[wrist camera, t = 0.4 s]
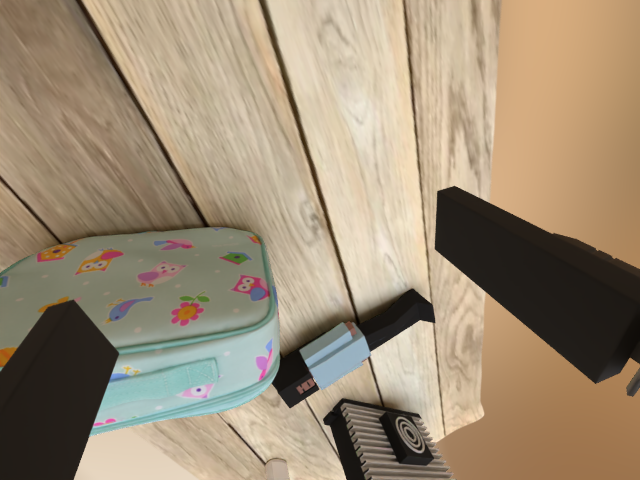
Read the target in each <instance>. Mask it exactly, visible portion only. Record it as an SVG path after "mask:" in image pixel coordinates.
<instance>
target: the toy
mask: <svg viewBox="0 0 640 480" xmlns="http://www.w3.org/2000/svg"><path fill="white" fill-rule="evenodd" d="M419 320H422V321H427V322H432V323H435V316H434V309H433V305H432V304H431V303H430V302H428V301H427V300H426V299H425V298H424V297H422V296H421V295H420V294H419V293H418V292H416V291H415V290H414V289H411V290H410V291H408V292H406V293H405V294H404V295H403V296H402V297H401V298H400V299H399V300H398V301H397V302H396V303H395V304H393V305H392V306H391V307H390V308H389V309H388V310H387V311H386V312H385V313H383V314H381V315H379V316H376V317H374V318H372V319H370V320H368V321H365V322H363V323H361V324H359V325H355V323H354V322H352V323H351V322H350V321H348V322H347V323H345V324H344V323H343V322H342V323H340V324H339V325H337V326H336V327H335V328H333V329H332V330H330V331H329V332H327V333H326V332H325V333H323V334H322V335H320V336H318V337H317V338H315V339H313V340H312V341H310V342H308V343H307V344H305V345H304V346H302V347H300V348H299V349H297V350H295V351H294V352H292V353H290V354H289V355H287V356H285V357H284V358H282V359H281V360H280V364H279V369H278V372H277V373H276V376H275V378H274V380H273V381H272V384H273V386H274V387H275V388H276V390H277V391H278V394H279V395H280V396H281V398H282V399H283V400H284V401H285V403H286V404H287V405H288V407H289V408H291V407H293V406H295V405H296V404H298V403H299V402H301V401H302V400H304V399H305V398H307V397H308V396H310V395H311V394H313V393H315V392H316V391H318V390H319V387H320V388H321V390H323V389H325V388H326V387H328V386H329V385H331V384H333V383H334V382H336V381H337V380H339V379H340V378H342V377H343V376H345V375H346V374H348V373H350V372H351V371H353V370H355V369H357V368H358V367H360V366H362V365H363V363H362V362H363V361H365V360H367V359H366V358H368V357H369V356H371V353H370V352H371V351H372V350H374V349H376V348H377V347H379V346H380V345H382V344H383V343H385V342H387V341H388V340H390V339H391V338H393V337H394V336H396V335H398V334H399V333H401V332H402V331H404V330H405V329H407V328H408V327H410V326H412V325H413V324H415V323H416V322H418V321H419ZM313 377H314V379H315V380H316V382H317V384H318V385H319V387H318V386H317V384H316V382H314V380H313Z"/></svg>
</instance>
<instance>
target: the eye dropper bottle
mask: <svg viewBox="0 0 640 480" xmlns="http://www.w3.org/2000/svg"><path fill="white" fill-rule="evenodd" d="M265 469H266V478H267V480H290V478H289V472H288V466H287V463H286V462H285V461H284V460H281V459H272V460H270V461H269V462H268V463H266V465H265Z"/></svg>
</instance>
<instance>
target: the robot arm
mask: <svg viewBox="0 0 640 480" xmlns="http://www.w3.org/2000/svg"><path fill="white" fill-rule="evenodd" d="M435 250H436V251H438V252H439V253H440V254H441V255H442V256H444V257H445V258H446V259H447V260H448V261H450V262H451V263H452V264H453V265H454V266H455V267H457V268H458V269H459V270H460V271H461V272H463V273H464V274H465V275H466V276H467V277H469V278H470V279H471V280H472V281H473V282H475V283H476V284H477V285H478V286H479V287H481V288H482V289H483V290H484V291H485V292H486V293H488V294H489V295H490V296H491V297H492V298H494V299H495V300H496V301H497V302H498V303H500V304H501V305H502V306H503V307H504V308H506V309H507V310H508V311H509V312H510V313H512V314H513V315H514V316H515V317H516V318H518V319H519V320H520V321H521V322H522V323H523V324H525V325H526V326H527V327H528V328H529V329H531V330H532V331H533V332H534V333H535V334H537V335H538V336H539V337H540V338H541V339H543V340H544V341H545V342H546V343H547V344H549V345H550V346H551V347H552V348H553V349H555V350H556V351H557V352H558V353H559V354H561V355H562V356H563V357H564V358H565V359H566V360H568V361H569V362H570V363H571V364H573V365H574V366H575V367H576V368H577V369H578V370H580V371H581V372H582V373H583V374H584V375H586V376H587V377H588V378H589V379H590V380H592V381H593V382H594V383H595V384H596V383H599V382H601V381H603V380H605V379H607V378H610V377H612V376H614V375H616V374H619V373H620V372H621V370H622V369H623V367H624V366H625V364H626V363H627V361H628V359H629V358H632V359H633V360H635V361H636V362H637V363H639V364H640V269H638V268H636V267H634V266H632V265H630V264H627V263H625V262H623V261H621V260H619V259H617V258H615V259H613V258H612V256H611V255H609V254H607V253H604V252H602V251H600V250H599V251H597V250H596V248H594V247H592V246H590V245H587V244H585V243H583V242H581V241H579V240H577V239H574V238H570V237H567V236H563V235H559V234H555V233H554V234H551V233H549V232H547V231H545V230H543V229H541V228H539V227H537V226H535V225H533V224H531V223H529V222H527V221H525V220H523V219H521V218H519V217H517V216H515V215H513V214H511V213H509V212H507V211H505V210H503V209H500V208H499V207H497V206H495V205H492V204H490V203H488V202H486V201H484V200H482V199H480V198H478V197H476V196H474V195H472V194H470V193H468V192H466V191H464V190H462V189H460V188H458V187H456V186H453V187H450V188H446V189H443V190H439V191H437V212H436V233H435ZM118 356H119V352H118V351H117V350H116V349H115V347H114V346H113V345H112V344H111V343H110V341H109V340H108V339H107V338H106V337H105V336H104V334H103V333H102V332H101V331H100V330H99V328H98V327H97V326H96V325H95V324H94V323H93V321H92V320H91V319H90V318H89V317H88V316H87V314H86V313H85V312H84V311H83V310H82V308H81V307H80V306H79V305H78V304H77V303H76V301H75V300H74V299H73V300H70V301H66V302H63V303H59V304H56V305H53V306H49V307H47V309H46V310H45V311H44V313H43V314H42V315H41V317H40V318H39V320H38V321H37V322H36V324H35V325H34V326H33V328H32V329H31V330H30V332H29V333H28V334H27V336H26V337H25V338H24V340H23V341H22V343H21V344H20V345H19V347H18V348H17V349H16V351H15V352H14V353H13V355H12V356H11V357H10V359H9V360H8V362H7V363H6V364H5V366H4V367H3V368H2V370H1V371H0V480H74V477H75V474H76V471H77V469H78V466H79V463H80V460H81V458H82V455H83V452H84V449H85V447H86V444H87V441H88V438H89V436H90V433H91V430H92V427H93V425H94V422H95V419H96V416H97V414H98V411H99V408H100V405H101V403H102V400H103V397H104V394H105V392H106V389H107V386H108V383H109V381H110V378H111V375H112V372H113V370H114V367H115V364H116V361H117V359H118ZM639 388H640V368H639V370H638V371H637V373H636V374H635V375H634V377H633V378H632V380H631V381H630V383H629V384H628V386H627V388H626V389H627V395H629V396H632V397H633V396H634V395H635V393H636V392H637V391H638V389H639Z"/></svg>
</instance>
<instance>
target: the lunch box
mask: <svg viewBox="0 0 640 480" xmlns="http://www.w3.org/2000/svg"><path fill="white" fill-rule="evenodd" d="M73 299H74V300H75V301H76V303H77V304H78V305H79V306H80V307H81V308H82V310H83V311H84V312H85V313H86V314H87V316H88V317H89V318H90V319H91V320H92V321H93V323H94V324H95V325H96V326H97V327H98V328H99V330H100V331H101V332H102V333H103V334H104V336H105V337H106V338H107V339H108V340H109V341H110V343H111V344H112V345H113V346H114V347H115V349H116V350H117V351H118V352H119V356H118V359H117V361H116V364H115V367H114V370H113V372H112V375H111V378H110V381H109V383H108V386H107V389H106V392H105V394H104V397H103V400H102V403H101V405H100V408H99V411H98V414H97V416H96V419H95V422H94V425H93V427H92V430H91V433H90V436H93V435H97V434H100V433H104V432H108V431H113V430H117V429H121V428H126V427H130V426H135V425H140V424H145V423H150V422H156V421H161V420H167V419H175V418H184V417H192V416H202V415H208V414H214V413H219V412H223V411H227V410H230V409H233V408H236V407H238V406H241V405H243V404H245V403H247V402H249V401H251V400H252V399H254V398H256V397H257V396H258V395H260V394H261V393H262V392H264V391H265V390H266V389H267V388H268V387H269V386H270V384H271V383H272V381H273V380H274V378H275V376H276V373H277V372H278V369H279V364H280V353H279V351H280V325H279V312H278V300H277V292H276V287H275V283H274V278H273V274H272V270H271V265H270V261H269V256H268V252H267V249H266V246H265V243H264V241H263V239H262V238H261V237H260V236H259V235H258V234H255V233H252V232H248V231H243V230H238V229H233V228H226V227H207V228H193V229H184V230H174V231H165V232H157V231H147V232H141V233H136V234H122V235H107V236H95V237H88V238H82V239H78V240H74V241H71V242H67V243H63V244H60V245H57V246H53V247H49V248H46V249H43V250H41V251H39V252H37V253H35V254H33V255H31V256H28V257H26V258H24V259H22V260H20V261H18V262H16V263H15V264H13V265H11V266H10V267H8V268H7V269H5V270H4V271H2V272H1V273H0V371H1V370H2V368H3V367H4V366H5V364H6V363H7V362H8V360H9V359H10V357H11V356H12V355H13V353H14V352H15V351H16V349H17V348H18V347H19V345H20V344H21V343H22V341H23V340H24V338H25V337H26V336H27V334H28V333H29V332H30V330H31V329H32V328H33V326H34V325H35V324H36V322H37V321H38V320H39V318H40V317H41V315H42V314H43V313H44V311H45V310H46V309H47V307H49V306H53V305H56V304H59V303H63V302H66V301H70V300H73Z"/></svg>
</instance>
